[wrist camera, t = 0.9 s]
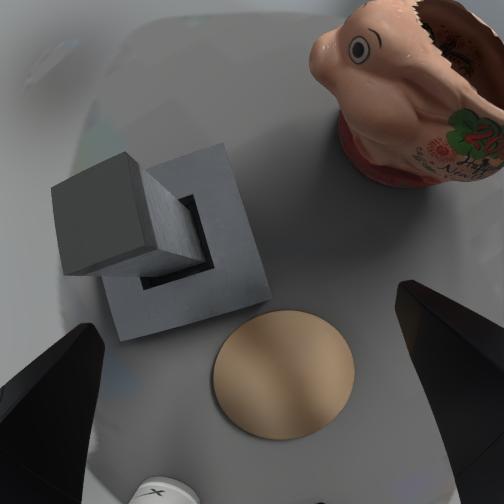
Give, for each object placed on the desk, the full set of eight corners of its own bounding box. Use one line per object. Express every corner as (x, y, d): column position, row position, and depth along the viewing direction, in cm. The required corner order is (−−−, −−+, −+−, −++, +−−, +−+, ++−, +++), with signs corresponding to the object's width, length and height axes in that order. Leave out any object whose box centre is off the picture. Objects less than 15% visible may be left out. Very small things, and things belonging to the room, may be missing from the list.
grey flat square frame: (272, 296, 23) (273, 298, 21) (130, 337, 23) (120, 341, 21) (226, 152, 24) (223, 142, 22) (97, 201, 24) (85, 195, 22)
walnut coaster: (276, 456, 22) (276, 460, 21) (186, 370, 22) (184, 372, 22) (377, 377, 22) (379, 379, 21) (292, 279, 23) (293, 280, 22)
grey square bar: (206, 261, 23) (144, 245, 11) (158, 277, 23) (63, 275, 11) (191, 213, 23) (125, 151, 11) (146, 229, 23) (50, 187, 11)
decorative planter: (467, 105, 24) (538, 39, 10) (491, 212, 23) (593, 177, 9) (292, 77, 24) (308, -45, 10) (299, 202, 23) (345, 109, 9)
